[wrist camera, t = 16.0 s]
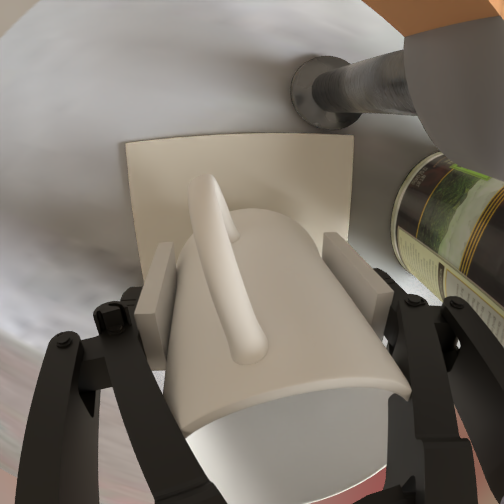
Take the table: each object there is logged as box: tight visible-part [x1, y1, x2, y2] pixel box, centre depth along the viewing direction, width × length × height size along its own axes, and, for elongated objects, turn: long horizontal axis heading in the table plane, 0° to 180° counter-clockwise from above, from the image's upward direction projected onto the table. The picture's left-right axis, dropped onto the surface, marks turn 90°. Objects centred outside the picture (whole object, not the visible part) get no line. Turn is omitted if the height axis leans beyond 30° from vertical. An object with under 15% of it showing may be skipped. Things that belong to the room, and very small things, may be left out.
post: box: [291, 50, 418, 130], centre depth 11 cm, size 4×4×12 cm
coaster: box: [125, 133, 354, 283], centre depth 19 cm, size 13×13×1 cm
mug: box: [163, 174, 412, 504], centre depth 12 cm, size 12×9×12 cm
